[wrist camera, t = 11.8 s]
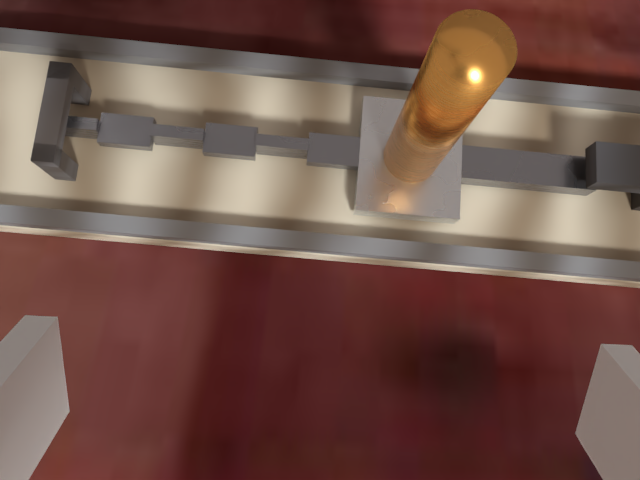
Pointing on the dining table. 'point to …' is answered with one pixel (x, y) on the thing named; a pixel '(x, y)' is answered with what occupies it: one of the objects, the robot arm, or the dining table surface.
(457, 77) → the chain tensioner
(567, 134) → the rail
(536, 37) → the dining table surface
